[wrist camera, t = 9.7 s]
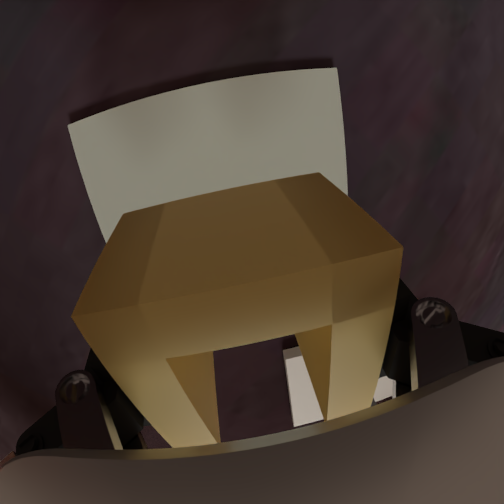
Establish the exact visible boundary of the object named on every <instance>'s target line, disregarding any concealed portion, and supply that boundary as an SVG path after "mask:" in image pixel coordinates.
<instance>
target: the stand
mask: <svg viewBox="0 0 504 504" xmlns="http://www.w3.org/2000/svg"><path fill="white" fill-rule="evenodd" d="M283 356H284V363H285V370H286V378H287V385H288V392H289V399H290V407H291V414H292V420H293V424H294V427H295V426H299V425H303V424H307V423H311V422H314V421H318V420H322V419H324V418H323V415H322V412H321V409H320V406H319V403H318V401H317V398H316V395H315V392H314V389H313V386H312V383H311V380H310V377H309V374H308V371H307V368H306V365H305V362H304V359H303V356H302V354H301V351H300V348H299V346H298V347H294V348H290V349H286V350H283ZM392 388H393V380H392V379H389V378H388V377H387V376H384V377H381V378H379V379H378V383H377V386H376V390H375V393H374V397H373V400H372V403H371V407H372V406H375V405H377V404H376V402H377V401H380V400H382V399H385V398H388V397H390V396H392Z"/></svg>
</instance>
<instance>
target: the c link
mask: <svg viewBox="0 0 504 504" xmlns="http://www.w3.org/2000/svg"><path fill="white" fill-rule="evenodd" d="M402 254H403V246H402V245H401V244H400V243H399V242H398V241H396V240H395V239H394V238H393V237H392V236H391V235H390V234H389V233H388V232H387V231H386V230H385V229H384V228H383V227H382V226H381V225H380V224H378V223H377V222H376V221H375V220H374V219H373V218H372V217H371V216H370V215H369V214H367V213H366V212H365V211H364V210H363V209H362V208H361V207H360V206H359V205H357V204H356V203H355V202H354V201H353V200H352V199H351V198H349V197H348V196H347V195H346V194H345V193H344V192H342V191H341V190H340V189H339V188H338V187H336V186H335V185H334V184H333V183H332V182H331V181H329V180H328V179H327V178H326V177H324V176H323V175H322V174H321V173H320V172H317V173H310V174H304V175H298V176H292V177H287V178H281V179H275V180H270V181H265V182H259V183H254V184H249V185H244V186H239V187H234V188H229V189H224V190H220V191H215V192H210V193H206V194H201V195H197V196H192V197H188V198H184V199H179V200H175V201H171V202H167V203H163V204H159V205H154V206H151V207H147V208H143V209H139V210H135V211H131V212H127V213H124V214H123V215H122V216H121V218H120V220H119V222H118V223H117V225H116V227H115V229H114V231H113V232H112V234H111V236H110V238H109V240H108V242H107V243H106V245H105V247H104V249H103V251H102V253H101V255H100V257H99V259H98V261H97V263H96V264H95V266H94V268H93V270H92V272H91V275H90V277H89V279H88V281H87V283H86V285H85V287H84V289H83V291H82V293H81V295H80V298H79V300H78V302H77V304H76V306H75V309H74V311H73V313H72V316H71V317H72V319H73V320H74V322H75V324H76V325H77V327H78V328H79V330H80V332H81V333H82V335H83V336H84V338H85V339H86V341H87V342H88V344H89V345H90V347H91V348H92V350H93V351H94V353H95V354H96V355H97V357H98V358H99V360H100V361H101V363H102V364H103V365H104V367H105V368H106V369H107V371H108V372H109V373H110V375H111V376H112V377H113V379H114V380H115V381H116V383H117V384H118V385H119V387H120V388H121V389H122V390H123V392H124V393H125V394H126V395H127V397H128V398H129V399H130V400H131V402H132V403H133V404H134V405H135V406H136V408H137V409H138V410H139V411H140V412H141V413H142V415H143V416H144V417H145V418H146V419H147V420H148V421H149V423H150V424H151V425H152V426H153V427H154V428H155V429H156V430H157V431H158V432H159V434H160V435H161V436H162V437H163V438H164V439H165V440H166V441H167V442H168V443H169V444H170V445H171V446H172V447H173V448H178V447H190V446H200V445H208V444H216V443H221V442H220V432H219V422H218V411H217V399H216V388H215V375H214V361H213V351H215V350H220V349H226V348H231V347H236V346H241V345H246V344H251V343H256V342H260V341H265V340H270V339H274V338H278V337H283V336H287V335H291V334H295V336H296V339H297V342H298V345H299V348H300V351H301V354H302V356H303V359H304V362H305V365H306V368H307V371H308V374H309V377H310V380H311V383H312V386H313V389H314V392H315V395H316V398H317V401H318V403H319V406H320V409H321V412H322V415H323V418H324V421H328V420H331V419H335V418H338V417H341V416H345V415H348V414H351V413H354V412H357V411H360V410H363V409H366V408H369V407H371V403H372V400H373V397H374V393H375V390H376V386H377V383H378V379H379V375H380V371H381V367H382V363H383V359H384V355H385V351H386V347H387V342H388V338H389V333H390V328H391V323H392V318H393V313H394V307H395V302H396V296H397V290H398V283H399V276H400V269H401V262H402Z"/></svg>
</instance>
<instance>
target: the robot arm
mask: <svg viewBox="0 0 504 504" xmlns="http://www.w3.org/2000/svg"><path fill="white" fill-rule="evenodd" d="M384 376H387V377H388V378H389V379H392V380H393V388H392V399H391V400H388V401H386V402H383V403H380V404H378V405H375V406H372V407H369V408H366V409H363V410H360V411H357V412H354V413H351V414H348V415H345V416H341V417H338V418H335V419H331V420H328V421H324V422H321V423H317V424H313V425H309V426H305V427H302V428H297V429H293V430H289V431H285V432H280V433H275V434H270V435H265V436H260V437H255V438H249V439H244V440H237V441H231V442H224V443H216V444H208V445H200V446H190V447H178V448H164V449H148V447H147V445H146V443H145V441H144V438H143V436H142V434H141V432H140V431H141V430H142V429H143V426H149V425H151V424H150V423H149V421H148V420H147V419H146V418H145V417H144V416H143V415H142V413H141V412H140V411H139V410H138V409H137V408H136V406H135V405H134V404H133V403H132V402H131V400H130V399H129V398H128V397H127V395H126V394H125V393H124V392H123V390H122V389H121V388H120V387H119V385H118V384H117V383H116V381H115V380H114V379H113V377H112V376H111V375H110V373H109V372H108V371H107V369H106V368H105V367H104V365H103V364H102V363H101V361H100V360H99V358H98V357H97V355H96V354H95V353H94V351H93V350H92V348H91V349H90V353H89V356H88V359H87V363H86V366H85V370H75V371H72V372H70V373H68V374H67V375H65V376H64V377H63V378H62V379H61V380H60V382H59V383H58V385H57V388H56V391H55V400H56V406H54V407H53V408H52V409H51V410H50V411H48V412H47V413H46V414H45V415H44V416H43V417H41V418H40V419H39V420H38V421H37V422H35V423H34V424H33V425H32V426H31V427H29V428H28V429H27V430H26V431H25V432H24V433H23V434H22V435H21V436H20V438H19V439H18V441H17V445H16V453H15V452H14V451H12V452H10V453H9V454H8V455H7V456H6V457H5V458H4V459H3V460H2V461H0V504H504V333H503V332H499V331H495V330H491V329H487V328H484V327H480V326H476V325H472V324H469V323H465V322H461V321H458V317H457V313H456V311H455V309H454V308H453V307H452V306H451V305H450V304H449V303H448V302H446V301H445V300H442V299H439V298H434V297H427V298H422V299H420V300H418V299H417V298H416V297H415V296H414V295H413V293H412V292H411V291H410V290H409V289H408V287H407V286H406V285H405V284H404V283H403V281H402V280H401V279H400V278H399V283H398V290H397V296H396V302H395V307H394V313H393V318H392V323H391V328H390V333H389V338H388V342H387V347H386V351H385V355H384V359H383V363H382V367H381V371H380V375H379V378H381V377H384Z"/></svg>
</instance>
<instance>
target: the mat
mask: <svg viewBox="0 0 504 504" xmlns="http://www.w3.org/2000/svg"><path fill="white" fill-rule="evenodd" d="M68 129H69V133H70V136H71V140H72V144H73V147H74V151H75V154H76V158H77V161H78V164H79V168H80V171H81V174H82V177H83V180H84V184H85V187H86V190H87V193H88V195H89V198H90V201H91V204H92V207H93V210H94V213H95V215H96V218H97V221H98V223H99V226H100V229H101V231H102V234H103V236H104V239H105V241H106V243H107V242H108V240H109V238H110V236H111V234H112V232H113V231H114V229H115V227H116V225H117V223H118V222H119V220H120V218H121V216H122V215H123V214H124V213H127V212H131V211H135V210H139V209H143V208H147V207H151V206H154V205H159V204H163V203H167V202H171V201H175V200H179V199H184V198H188V197H192V196H197V195H201V194H206V193H210V192H215V191H220V190H224V189H229V188H234V187H239V186H244V185H249V184H254V183H259V182H265V181H270V180H275V179H281V178H287V177H292V176H298V175H304V174H310V173H317V172H320V173H321V174H322V175H323V176H324V177H326V178H327V179H328V180H329V181H331V182H332V183H333V184H334V185H335V186H336V187H338V188H339V189H340V190H341V191H342V192H344V193H345V194H346V195H347V196H348V191H347V169H346V153H345V139H344V127H343V117H342V107H341V98H340V89H339V81H338V73H337V68H320V69H304V70H292V71H282V72H272V73H264V74H256V75H249V76H243V77H236V78H230V79H225V80H219V81H214V82H209V83H204V84H199V85H195V86H190V87H186V88H181V89H177V90H173V91H169V92H165V93H162V94H158V95H154V96H151V97H147V98H144V99H140V100H137V101H134V102H130V103H127V104H124V105H121V106H118V107H115V108H112V109H109V110H106V111H103V112H101V113H98V114H95V115H92V116H90V117H87V118H85V119H82V120H79V121H77V122H74V123H72V124H69V125H68Z"/></svg>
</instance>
